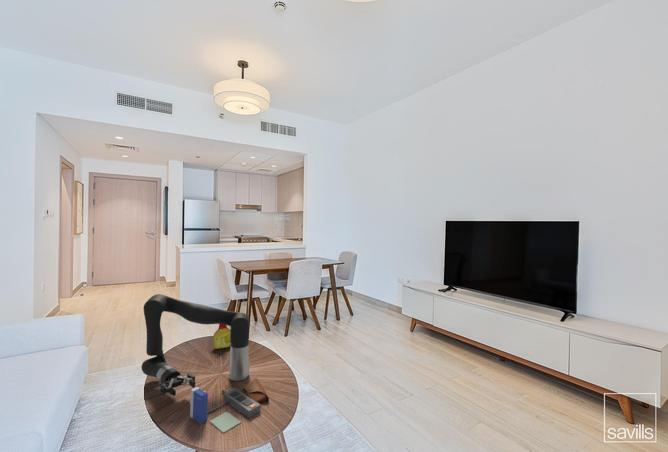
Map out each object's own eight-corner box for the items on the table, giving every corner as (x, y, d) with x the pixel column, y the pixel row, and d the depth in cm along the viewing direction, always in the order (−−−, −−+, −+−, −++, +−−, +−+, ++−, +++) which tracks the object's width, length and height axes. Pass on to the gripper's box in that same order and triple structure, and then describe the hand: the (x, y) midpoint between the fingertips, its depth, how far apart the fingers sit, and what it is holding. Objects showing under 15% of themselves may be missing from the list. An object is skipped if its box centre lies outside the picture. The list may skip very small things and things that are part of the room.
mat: (227, 412, 129) (227, 411, 129) (240, 422, 123) (240, 421, 123) (209, 421, 123) (209, 421, 123) (223, 433, 117) (223, 432, 117)
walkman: (207, 420, 124) (208, 392, 124) (200, 424, 122) (201, 395, 121) (195, 413, 128) (196, 385, 128) (189, 416, 126) (190, 388, 126)
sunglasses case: (240, 387, 149) (247, 374, 151) (252, 390, 152) (259, 378, 154) (251, 407, 134) (259, 392, 135) (263, 411, 137) (271, 396, 139)
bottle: (213, 351, 187) (214, 319, 187) (211, 347, 193) (212, 316, 192) (232, 347, 193) (234, 317, 193) (230, 343, 199) (231, 314, 198)
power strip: (192, 406, 133) (192, 399, 133) (227, 389, 147) (228, 382, 146) (224, 432, 117) (224, 424, 117) (260, 411, 131) (260, 403, 131)
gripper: (152, 373, 136) (168, 387, 126) (183, 363, 147) (200, 375, 137) (151, 390, 136) (167, 405, 126) (183, 378, 147) (200, 391, 137)
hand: (184, 389), depth 132 cm, fingers open, 8 cm apart
